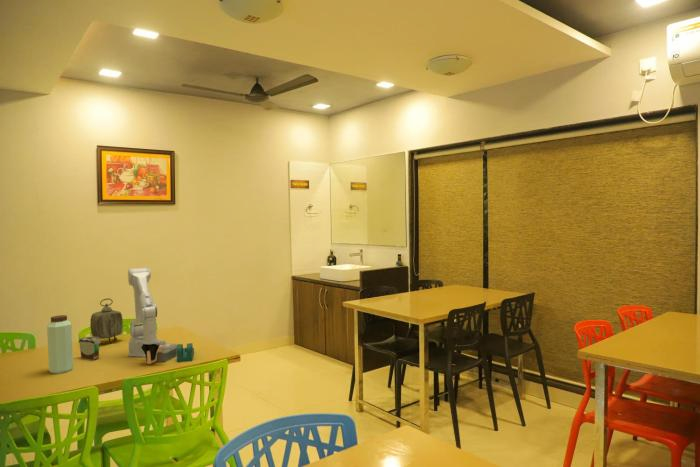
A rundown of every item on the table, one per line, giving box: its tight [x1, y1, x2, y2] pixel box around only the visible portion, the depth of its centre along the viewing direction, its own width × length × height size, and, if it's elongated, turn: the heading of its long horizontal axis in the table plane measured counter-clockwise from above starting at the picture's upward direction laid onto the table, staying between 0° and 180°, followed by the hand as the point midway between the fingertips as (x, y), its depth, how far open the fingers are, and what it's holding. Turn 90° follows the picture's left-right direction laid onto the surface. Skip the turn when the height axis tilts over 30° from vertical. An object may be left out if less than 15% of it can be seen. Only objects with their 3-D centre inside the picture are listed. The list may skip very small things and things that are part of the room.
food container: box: [78, 336, 102, 361], centre depth 236 cm, size 12×6×10 cm, turn 65°
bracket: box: [176, 342, 195, 363], centre depth 235 cm, size 18×7×8 cm, turn 14°
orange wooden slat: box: [146, 345, 163, 365], centre depth 227 cm, size 10×2×6 cm, turn 169°
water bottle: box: [46, 314, 74, 375], centre depth 216 cm, size 10×10×25 cm
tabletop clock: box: [89, 297, 124, 345], centre depth 264 cm, size 14×9×25 cm, turn 144°
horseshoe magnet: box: [145, 342, 177, 363], centre depth 233 cm, size 13×10×6 cm
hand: (151, 359), depth 224 cm, fingers closed on orange wooden slat, 2 cm apart
